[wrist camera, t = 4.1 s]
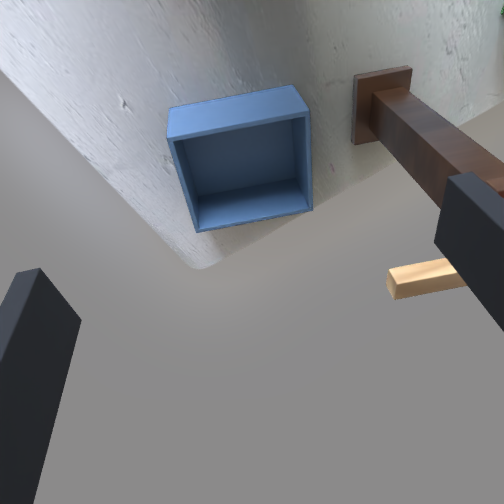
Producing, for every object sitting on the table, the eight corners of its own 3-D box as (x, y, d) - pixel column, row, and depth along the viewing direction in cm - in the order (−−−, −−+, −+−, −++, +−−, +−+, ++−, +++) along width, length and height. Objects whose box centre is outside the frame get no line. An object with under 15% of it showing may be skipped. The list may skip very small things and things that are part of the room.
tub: (168, 107, 47) (166, 137, 40) (292, 84, 47) (310, 110, 40) (195, 197, 56) (196, 233, 50) (298, 177, 56) (313, 210, 50)
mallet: (383, 229, 27) (411, 273, 23) (559, 195, 27) (612, 234, 23) (375, 292, 31) (397, 336, 28) (525, 263, 31) (565, 304, 28)
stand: (354, 71, 47) (491, 192, 26) (408, 60, 47) (589, 173, 26) (350, 144, 54) (457, 287, 32) (398, 135, 54) (535, 272, 32)
